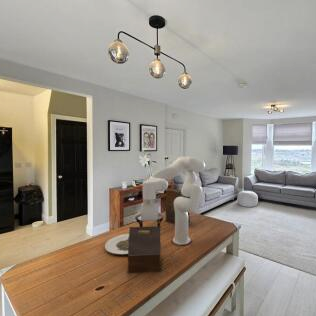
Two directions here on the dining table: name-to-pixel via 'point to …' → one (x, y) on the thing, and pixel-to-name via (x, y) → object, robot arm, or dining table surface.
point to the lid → (144, 240)
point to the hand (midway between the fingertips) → (150, 229)
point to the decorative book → (172, 204)
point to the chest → (144, 262)
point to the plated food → (118, 244)
